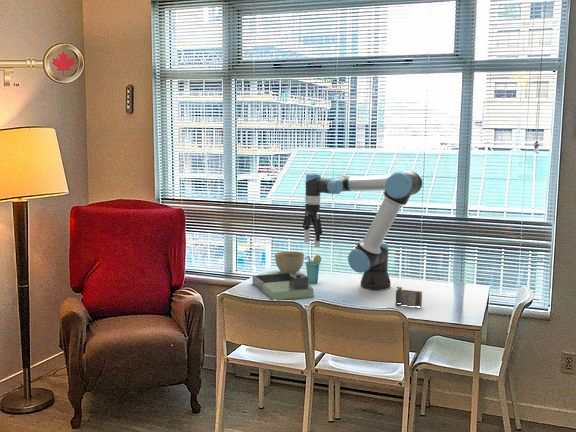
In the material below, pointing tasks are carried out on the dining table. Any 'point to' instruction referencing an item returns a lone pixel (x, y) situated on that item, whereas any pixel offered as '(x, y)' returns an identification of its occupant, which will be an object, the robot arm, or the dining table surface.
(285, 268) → the planter bowl
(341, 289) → the dining table surface
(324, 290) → the dining table surface
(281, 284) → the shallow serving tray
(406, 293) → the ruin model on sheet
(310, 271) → the cup
